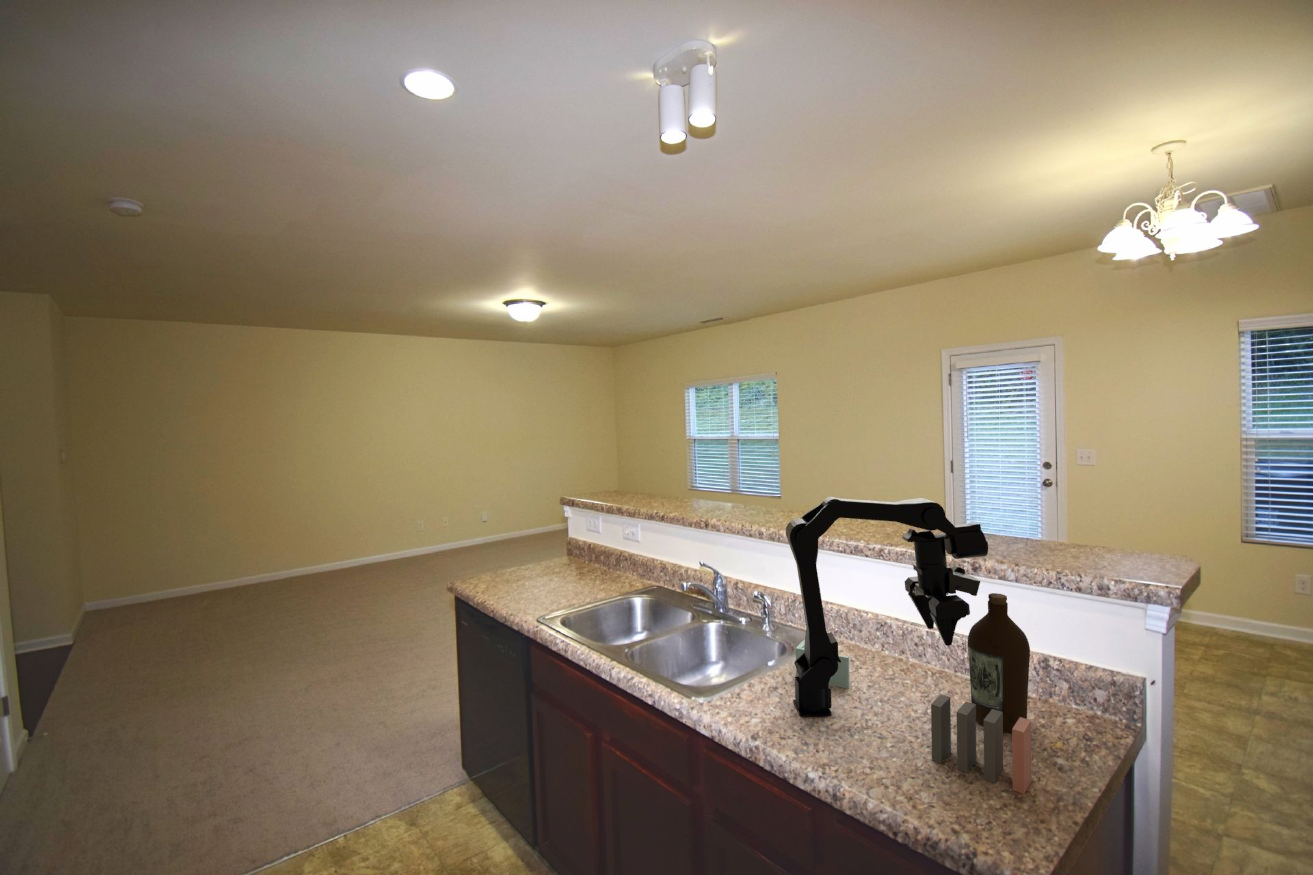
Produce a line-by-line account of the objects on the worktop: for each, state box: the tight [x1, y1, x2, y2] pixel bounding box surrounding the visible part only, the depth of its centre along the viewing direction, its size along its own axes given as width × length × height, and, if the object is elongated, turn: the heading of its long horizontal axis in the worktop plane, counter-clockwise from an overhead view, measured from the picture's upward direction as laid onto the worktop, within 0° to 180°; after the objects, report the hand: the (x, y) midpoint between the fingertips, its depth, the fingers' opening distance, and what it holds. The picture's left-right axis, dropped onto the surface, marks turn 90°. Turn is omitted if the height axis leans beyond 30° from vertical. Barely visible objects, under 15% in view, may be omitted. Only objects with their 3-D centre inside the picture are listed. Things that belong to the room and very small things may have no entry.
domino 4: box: [1011, 717, 1033, 795], centre depth 96 cm, size 2×5×10 cm, turn 136°
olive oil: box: [967, 592, 1031, 734], centre depth 116 cm, size 11×11×25 cm
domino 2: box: [956, 701, 977, 774], centre depth 102 cm, size 2×5×10 cm, turn 136°
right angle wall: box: [795, 638, 851, 690], centre depth 139 cm, size 12×12×8 cm
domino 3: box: [983, 709, 1004, 784], centre depth 99 cm, size 2×5×10 cm, turn 136°
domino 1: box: [930, 693, 952, 765], centre depth 104 cm, size 2×5×10 cm, turn 136°
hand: (939, 636), depth 120 cm, fingers open, 9 cm apart
